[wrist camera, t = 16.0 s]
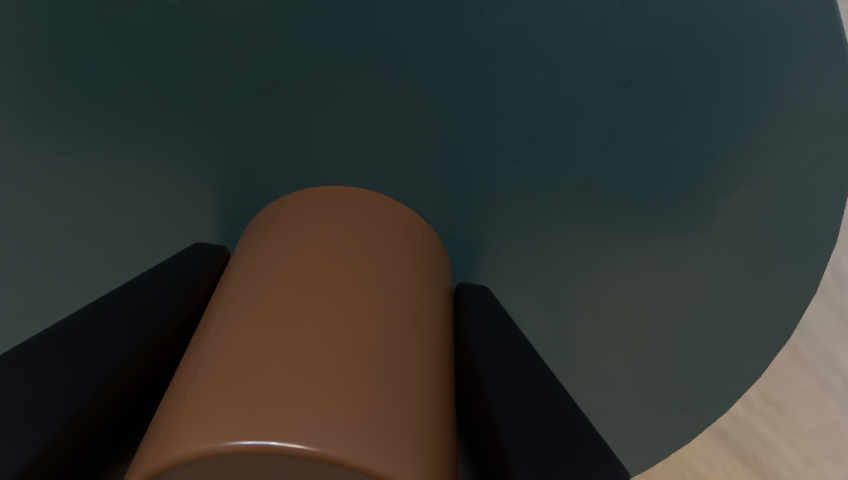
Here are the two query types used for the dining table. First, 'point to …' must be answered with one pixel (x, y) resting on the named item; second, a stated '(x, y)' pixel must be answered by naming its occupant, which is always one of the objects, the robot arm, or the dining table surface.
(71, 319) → the robot arm
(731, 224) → the tin lid
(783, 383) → the dining table surface
